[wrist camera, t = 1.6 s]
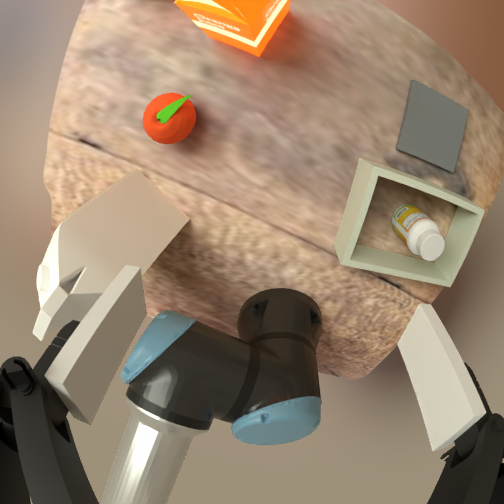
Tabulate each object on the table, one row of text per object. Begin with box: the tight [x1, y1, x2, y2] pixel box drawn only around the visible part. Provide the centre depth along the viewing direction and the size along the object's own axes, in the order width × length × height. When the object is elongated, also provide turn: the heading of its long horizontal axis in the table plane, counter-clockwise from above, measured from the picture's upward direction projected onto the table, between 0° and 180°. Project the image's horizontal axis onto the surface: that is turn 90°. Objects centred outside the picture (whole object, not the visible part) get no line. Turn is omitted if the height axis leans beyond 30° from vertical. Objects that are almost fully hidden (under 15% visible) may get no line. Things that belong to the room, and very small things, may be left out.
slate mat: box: [396, 80, 469, 173], centre depth 31 cm, size 11×11×1 cm
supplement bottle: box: [392, 204, 445, 261], centre depth 35 cm, size 5×5×10 cm
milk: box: [32, 169, 190, 341], centre depth 31 cm, size 12×12×26 cm
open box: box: [333, 158, 485, 287], centre depth 36 cm, size 14×21×6 cm, turn 80°
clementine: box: [143, 93, 196, 144], centre depth 31 cm, size 8×7×7 cm
